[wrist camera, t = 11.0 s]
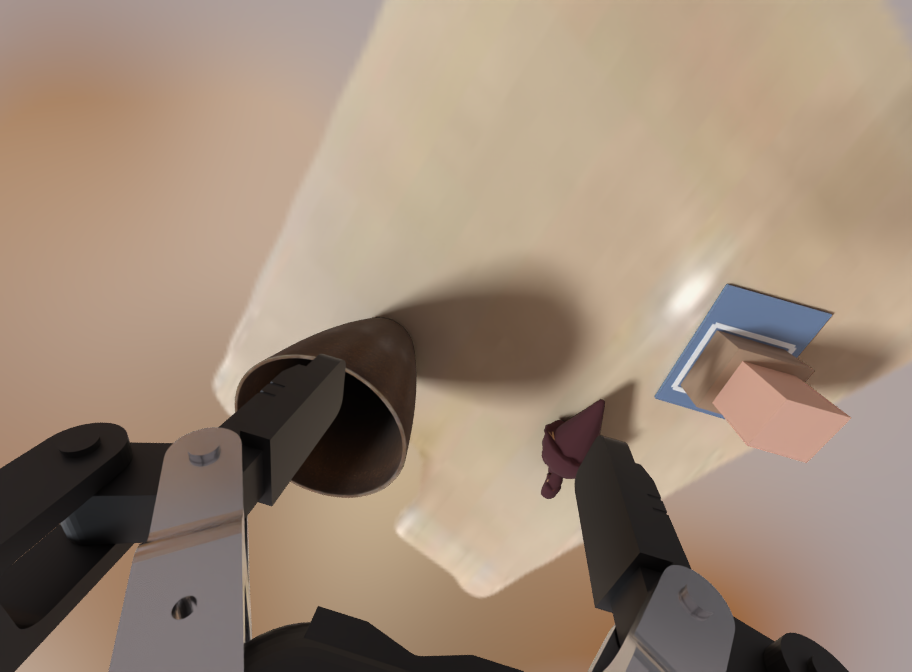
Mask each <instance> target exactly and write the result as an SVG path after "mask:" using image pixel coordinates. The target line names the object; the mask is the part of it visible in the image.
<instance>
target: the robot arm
mask: <svg viewBox="0 0 912 672" xmlns="http://www.w3.org/2000/svg"><path fill="white" fill-rule="evenodd" d="M345 369H346V362H345V361H344V360H342V359H338V358H335V357H331V356H328V355H325V354H319V355H318V356H317V357H316V358H315V359H313V360H312V361H311V362H310V363H309V364H308V365H307V366H303V365H300V364H298V365H296V366H293V367H291V368H289V369H286V370H284V371H282V372H281V373H280V374H279V375H277V376H276V377H275V378H274V379H273V380H272V381H271V382H270V384H267V385H266V386H265V387H264V388H263V389H262V390H260V393H257V394H256V395H255V396H254V397H252V398H251V399H250V400H249V401H248V402H247V403H246V404H245V405H243V406H242V407H241V408H240V409H239V410H238V411H237V412H235V413H234V414H233V415H232V416H231V417H230V418H229V419H228V420H226V421H225V422H224V423H223V424H222V425H221V426H220V427H218V428H205V429H201V430H197V431H193V432H191V433H189V434H186V435H184V436H183V437H181V438H179V439H178V440H177V441H175V442H174V443H130V442H129V438H128V435H127V432H126V430H125V429H124V428H122V427H121V426H119V425H116V424H112V423H91V424H85V425H80V426H76V427H73V428H70V429H67V430H64V431H62V432H60V433H57V434H55V435H54V436H52V437H50V438H48V439H46V440H45V441H43V442H42V443H40V444H39V445H37V446H35V447H34V448H32V449H31V450H29V451H28V452H26V453H24V454H23V455H21V456H20V457H18V458H16V459H15V460H13V461H12V462H10V463H8V464H7V465H5V466H4V467H2V468H1V469H0V672H15V671H16V670H17V668H18V667H19V666H20V665H21V664H22V663H23V662H24V661H25V660H26V659H27V658H28V657H29V656H30V654H31V653H32V652H33V651H34V650H35V649H36V648H37V647H38V646H39V645H40V643H42V642H43V641H44V640H45V638H46V637H47V636H48V635H49V634H50V633H51V632H52V631H53V630H54V629H55V628H56V627H57V625H59V623H60V622H61V621H62V620H63V619H64V618H65V617H66V616H67V615H68V614H69V613H70V612H71V610H73V608H74V607H75V606H76V605H77V604H78V603H79V602H80V601H81V600H82V599H83V598H84V597H85V596H86V595H87V593H88V592H89V591H90V590H91V589H92V588H93V587H94V586H95V585H96V584H97V583H98V582H99V581H100V580H101V578H102V577H103V576H104V575H105V574H106V573H107V572H108V571H109V570H110V569H111V568H112V567H113V566H114V565H115V563H116V562H117V561H118V560H119V559H120V558H121V557H122V556H123V555H124V554H125V553H126V552H127V551H128V550H129V548H130V547H131V546H132V545H133V544H134V543H141V544H140V545H139V546H138V548H137V549H136V552H135V555H134V558H133V562H132V566H131V571H130V576H129V580H128V585H127V589H126V594H125V599H124V603H123V608H122V613H121V617H120V622H119V626H118V631H117V635H116V640H115V645H114V649H113V654H112V659H111V663H110V668H109V672H524V671H521V670H518V669H515V668H511V667H509V666H505V665H502V664H499V663H496V662H493V661H490V660H487V659H483V658H480V657H477V656H474V655H452V656H417V655H414V654H412V653H410V652H409V651H408V650H406V649H405V648H403V647H402V646H401V645H399V644H398V643H396V642H395V641H394V640H392V639H391V638H389V637H388V636H387V635H385V634H384V633H383V632H381V631H380V630H378V629H377V628H376V627H374V626H373V625H371V624H370V623H369V622H367V621H363V620H361V619H357V618H354V617H351V616H348V615H345V614H342V613H338V612H335V611H332V610H329V609H326V608H322V607H319V606H318V607H317V609H316V612H315V614H314V616H313V618H312V621H311V622H308V623H297V624H291V625H286V626H283V627H279V628H276V629H273V630H271V631H268V632H266V633H264V634H261V635H259V636H257V637H255V638H253V639H252V629H251V607H250V584H249V550H248V549H249V548H248V517H247V515H248V514H249V513H250V511H251V510H252V509H253V508H254V506H255V505H256V503H257V502H259V503H263V504H266V505H269V506H273V504H274V503H275V502H276V500H277V499H278V497H279V496H280V495H281V493H282V492H283V490H284V489H285V487H286V486H287V485H288V483H289V482H290V481H291V479H292V478H293V477H294V475H295V474H296V472H297V471H298V470H299V468H300V467H301V465H302V464H303V463H304V461H305V460H306V458H307V457H308V456H309V454H310V453H311V451H312V450H313V449H314V447H315V446H316V444H317V443H318V442H319V440H320V439H321V437H322V436H323V435H324V433H325V432H326V430H327V429H328V428H329V426H330V425H331V424H332V422H333V421H334V419H335V418H336V416H337V414H338V412H339V410H340V407H341V404H342V399H343V390H344V380H345ZM575 494H576V500H577V506H578V511H579V517H580V523H581V529H582V535H583V540H584V546H585V552H586V558H587V564H588V569H589V575H590V581H591V587H592V593H593V598H594V604H595V608H598V609H601V610H605V611H608V612H612V613H613V616H614V621H615V625H614V626H613V627H612V628H611V630H610V631H609V633H608V635H607V637H606V639H605V640H604V642H603V644H602V646H601V648H600V650H599V652H598V654H597V655H596V657H595V659H594V661H593V663H592V664H591V666H590V668H589V670H588V672H849V671H848V670H847V669H846V668H845V667H844V666H843V665H842V664H841V663H840V662H839V661H838V660H837V659H836V658H835V657H834V656H833V655H832V654H830V653H829V652H828V651H827V650H826V649H824V648H823V647H822V646H820V645H819V644H817V643H816V642H814V641H813V640H811V639H809V638H807V637H805V636H803V635H800V634H797V633H786V634H785V635H783V636H782V637H781V638H779V639H778V640H776V641H773V640H771V639H770V638H768V637H766V636H765V635H763V634H761V633H760V632H758V631H756V630H755V629H753V628H751V627H750V626H748V625H746V624H745V623H743V622H741V621H740V620H738V619H737V618H735V617H733V615H732V613H731V611H730V609H729V607H728V605H727V603H726V602H725V600H724V599H723V597H722V596H721V595H720V593H719V592H718V591H717V590H716V589H715V588H714V587H713V586H712V584H710V583H709V582H708V581H707V580H706V579H705V578H704V577H702V576H701V575H700V574H698V573H696V572H695V571H693V570H691V567H690V565H689V562H688V560H687V558H686V555H685V553H684V551H683V548H682V546H681V544H680V541H679V539H678V537H677V534H676V532H675V529H674V527H673V525H672V522H671V520H670V518H669V515H667V514H666V513H667V511H666V508H665V506H664V504H663V501H661V497H660V494H659V492H658V490H657V487H656V485H655V483H654V481H653V479H652V478H651V477H650V476H649V474H648V473H647V472H646V471H645V469H644V468H643V467H642V466H641V465H640V464H637V463H635V462H634V459H633V456H632V454H631V451H630V449H629V446H628V445H627V443H625V442H622V441H619V440H615V439H612V438H609V437H605V436H602V435H599V436H598V437H597V438H596V439H595V440H594V442H593V444H592V446H591V447H590V449H589V451H588V453H587V454H586V456H585V458H584V460H583V462H582V463H581V465H580V467H579V469H578V471H577V474H576V478H575ZM55 527H56V528H55ZM54 528H55V529H54ZM49 532H50V533H49ZM48 533H49V534H48ZM42 538H43V539H42ZM41 539H42V540H41ZM36 543H37V544H36ZM35 544H36V545H35ZM29 549H30V550H29ZM28 550H29V551H28ZM23 554H24V555H23ZM22 555H23V556H22ZM17 559H18V560H17ZM16 560H17V561H16ZM15 561H16V562H15Z"/></svg>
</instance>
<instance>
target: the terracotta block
mask: <svg viewBox="0 0 912 672" xmlns="http://www.w3.org/2000/svg"><path fill="white" fill-rule="evenodd" d="M712 403H713V404H714V406H715V407H716V408H717V409H718V411H719V412H720V413H721V414H722V415H723V417H724V418H725V419H726V420H727V422H728V423H729V424H730V425H731V426H732V428H733V429H734V430H735V431H736V433H737V434H738V435H739V436H740V437H741V439H742V440H743V441H744V442H745V444H746V445H747V446H750V447H753V448H757V449H760V450H764V451H767V452H771V453H774V454H777V455H781V456H784V457H788V458H791V459H795V460H798V461H802V462H805V463H807V462H808V461H809V460H810V459H811V458H812V457H813V456H814V455H815V454H816V453H817V452H818V451H819V450H820V449H821V448H822V447H823V446H824V445H825V444H826V443H827V442H828V441H829V440H830V439H831V438H832V437H833V436H834V435H835V434H836V433H837V432H838V431H839V430H840V429H841V428H842V427H843V426H844V425H845V424H846V423H847V422H848V421H849V420H850V419H851V417H850V416H848V415H847V414H846V413H844V412H843V411H841V410H840V409H839V408H838V407H836V406H835V405H834V404H832V403H831V402H830V401H828V400H827V399H826V398H824V397H823V396H822V395H821V394H819V393H818V392H817V391H815V390H814V389H813V388H811V387H810V386H809V385H807V384H806V383H805V382H803V381H802V380H801V379H799V378H798V377H797V376H794V375H790V374H787V373H783V372H780V371H776V370H773V369H769V368H765V367H762V366H758V365H755V364H751V363H748V362H744V361H742V363H741V364H740V365H739V367H738V368H737V370H736V371H735V372H734V374H733V375H732V376H731V378H730V379H729V380H728V382H727V383H726V385H725V386H724V387H723V389H722V390H721V391H720V393H719V394H718V395H717V397H716V398H715V400H714V401H713V402H712Z"/></svg>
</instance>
